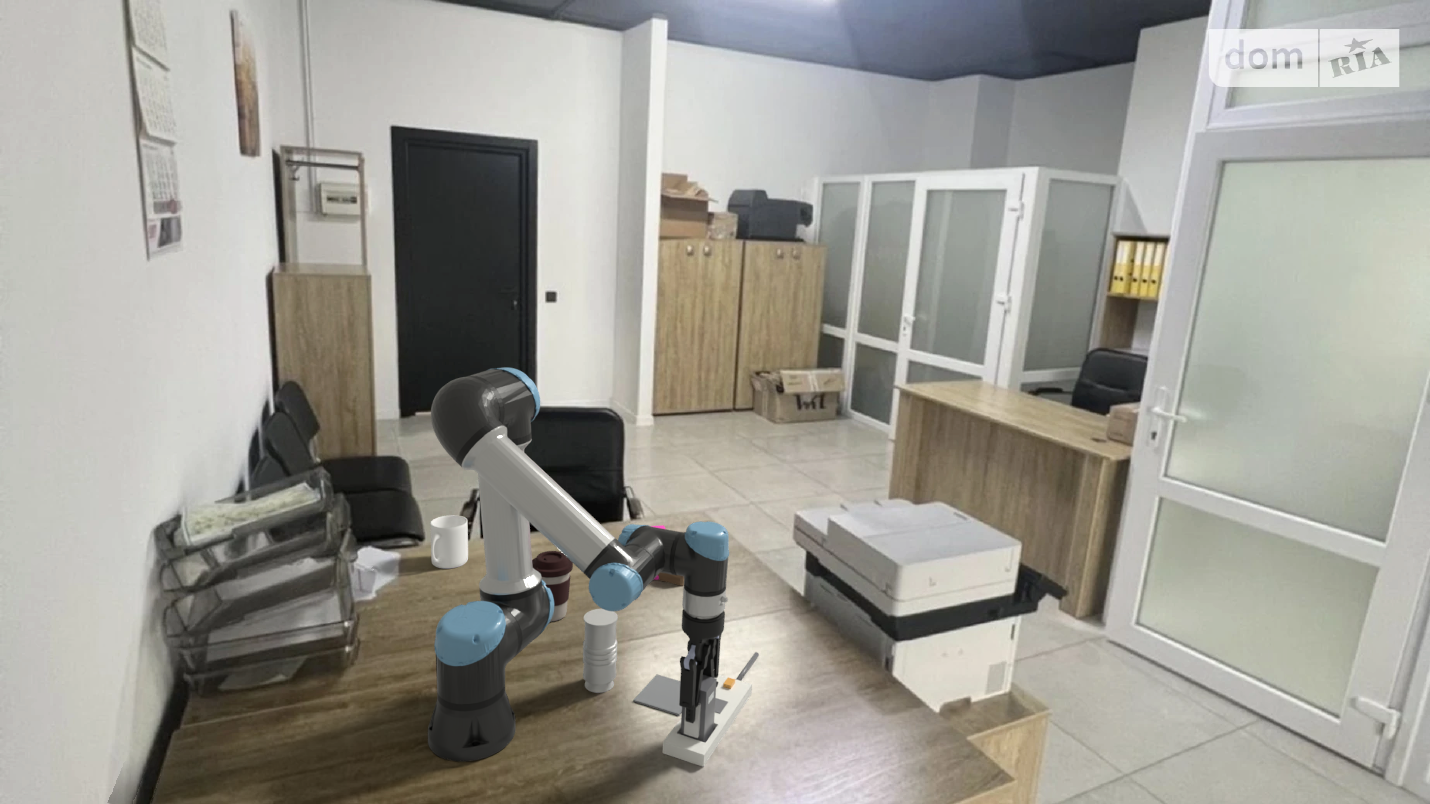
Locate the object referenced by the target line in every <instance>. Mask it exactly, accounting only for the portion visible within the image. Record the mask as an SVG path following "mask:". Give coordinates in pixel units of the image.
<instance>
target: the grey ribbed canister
mask: <svg viewBox="0 0 1430 804" xmlns="http://www.w3.org/2000/svg"><path fill="white" fill-rule="evenodd" d="M618 620H619V616H618V614H617V612H616V611H607V610H604V609H602V608H596V609H592V610H589V611H587V612H586V613H584V616H583V622H584V639H583V641H582V664H583V670H582V678H583V680H584V681H585V683H584V688H585V689H586V690H588V691H589V692H592V693H597V694H599V693H600V694H601V693H607V692H608V691H610V690H611V689H613V687H614V685H615V682H614V680H615V679H616V678H617V665H616V664H617V661H618V640H617V622H618Z"/></svg>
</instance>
